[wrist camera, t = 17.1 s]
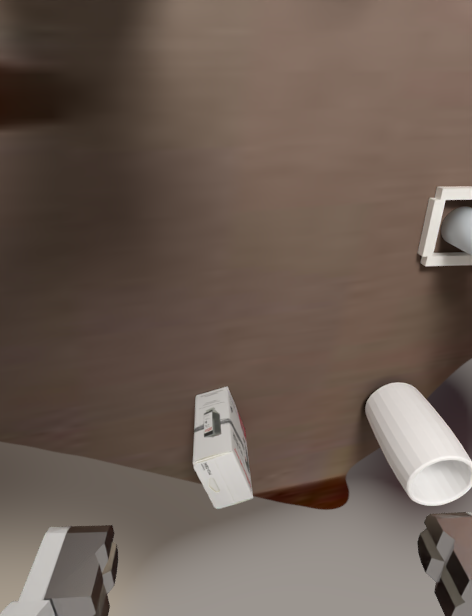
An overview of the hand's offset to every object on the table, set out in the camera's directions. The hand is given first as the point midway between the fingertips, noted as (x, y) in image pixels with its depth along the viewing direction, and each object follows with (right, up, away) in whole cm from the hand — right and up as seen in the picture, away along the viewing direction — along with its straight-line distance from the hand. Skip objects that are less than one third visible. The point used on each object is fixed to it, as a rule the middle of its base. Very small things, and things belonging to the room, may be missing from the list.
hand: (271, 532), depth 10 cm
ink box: (-3, -9, +45) cm, 46 cm away
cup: (+21, -7, +46) cm, 51 cm away
